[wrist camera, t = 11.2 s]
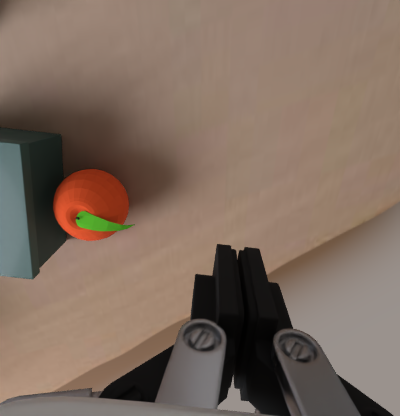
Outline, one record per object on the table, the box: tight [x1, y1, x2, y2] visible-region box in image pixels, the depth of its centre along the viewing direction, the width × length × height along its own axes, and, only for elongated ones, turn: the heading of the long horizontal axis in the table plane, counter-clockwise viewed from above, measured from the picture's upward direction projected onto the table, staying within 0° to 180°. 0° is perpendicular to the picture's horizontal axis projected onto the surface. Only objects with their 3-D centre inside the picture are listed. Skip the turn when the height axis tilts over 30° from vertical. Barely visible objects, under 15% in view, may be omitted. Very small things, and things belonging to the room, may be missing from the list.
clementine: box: [53, 169, 135, 241], centre depth 30 cm, size 8×7×7 cm
